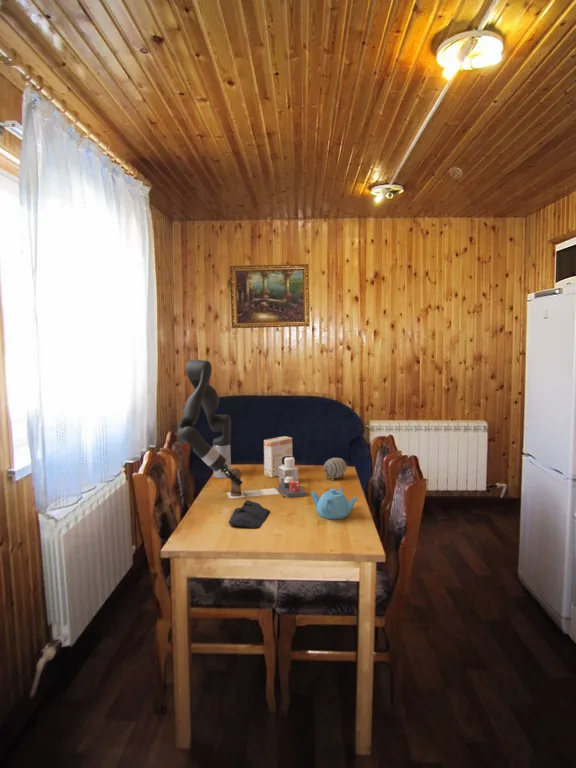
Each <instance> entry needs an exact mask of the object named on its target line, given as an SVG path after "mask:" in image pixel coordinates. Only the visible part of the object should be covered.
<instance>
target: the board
mask: <svg viewBox="0 0 576 768" xmlns="http://www.w3.org/2000/svg"><path fill="white" fill-rule="evenodd" d="M230 492H231V491H230ZM230 492H226V494H227V496H228V498H229V499H239V498H246V497H247V498H250V497H252V498H253V497H262V496H271V495H272V496H273V495H281V497H283V498H285V495H284V493H283V492H282V491H281V490H280V489H279V487H277V486H273V487H272V488H264V489H263V488H261V489H252V490H251V489H250V490H243V491H242V490H241V492H242V495H241V496H231V495H230Z"/></svg>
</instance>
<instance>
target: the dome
mask: <svg viewBox="0 0 576 768" xmlns="http://www.w3.org/2000/svg"><path fill="white" fill-rule="evenodd" d="M289 481H295V479H294V477H292V476H287V477H286V479H284V482H285V483H289Z"/></svg>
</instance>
